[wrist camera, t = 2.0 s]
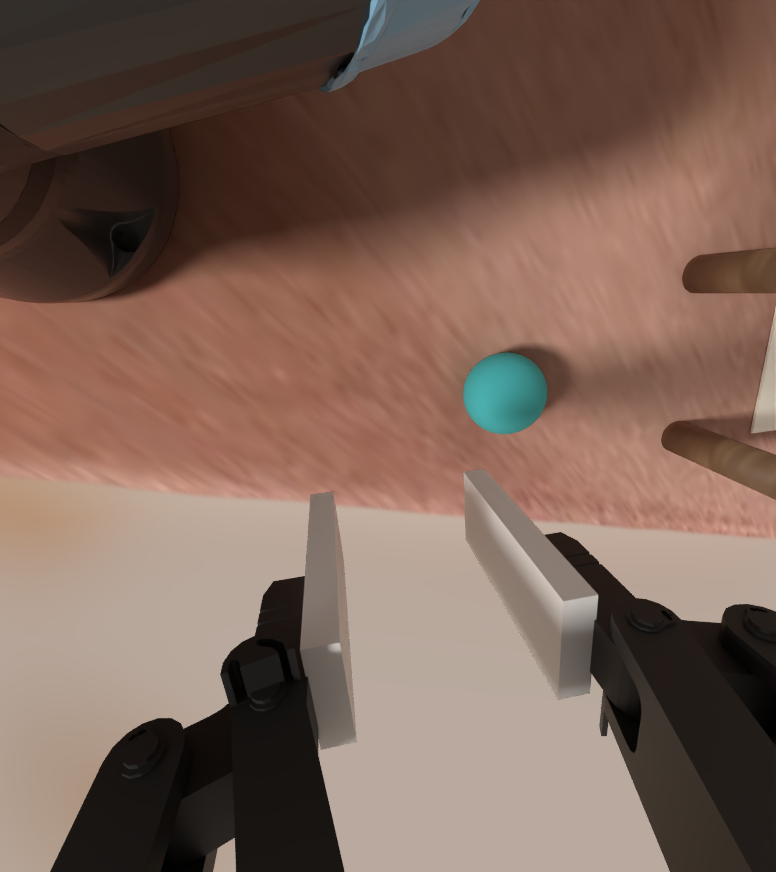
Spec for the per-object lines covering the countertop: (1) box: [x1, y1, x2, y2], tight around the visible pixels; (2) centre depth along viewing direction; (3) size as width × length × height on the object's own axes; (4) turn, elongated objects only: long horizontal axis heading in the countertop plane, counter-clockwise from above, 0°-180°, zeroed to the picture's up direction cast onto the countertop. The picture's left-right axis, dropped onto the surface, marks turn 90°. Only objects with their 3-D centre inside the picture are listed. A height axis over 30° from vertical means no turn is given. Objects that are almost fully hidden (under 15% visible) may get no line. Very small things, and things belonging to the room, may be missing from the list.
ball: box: [463, 352, 547, 434], centre depth 29 cm, size 6×6×6 cm
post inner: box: [682, 248, 776, 293], centre depth 27 cm, size 3×3×9 cm
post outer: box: [661, 421, 776, 500], centre depth 31 cm, size 3×3×9 cm
